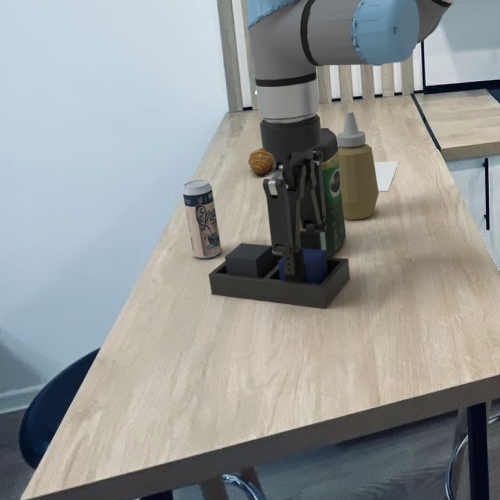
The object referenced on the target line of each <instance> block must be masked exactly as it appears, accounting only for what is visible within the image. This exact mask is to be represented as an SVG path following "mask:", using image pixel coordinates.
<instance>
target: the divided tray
mask: <svg viewBox="0 0 500 500" xmlns="http://www.w3.org/2000/svg"><path fill="white" fill-rule="evenodd" d="M272 252H273V251H272ZM281 258H283V255H282V253H278V252H273V260H274V269H272V270H271V271H270V272H269V273H268V274H267V275H266V276H265V277H264V278H257V277H248V276H239V275H230V274H227V269H226V262H225V260H224V261H222V263H221V264H219V265H218V266H217V267H216V268H214V269H213V270H212V271H211V272H209V274H208V281H209V286H210V292H211V293H210V294H211V295H216V296H223V297H232V298H238V299H246V300H255V301H262V302H270V303H278V304H286V305H291V306H292V305H293V306H300V307H307V308H308V307H309V308H317V309H323V310H324V309H325V310H326V309H327V308H328V307H329V305H330V304H331V303H332V301H334V299H335V298H336V297H337V296H338V294H339V293H340V292H341V291H342V289H343V288H344V287H345V286H346V284H347V283H348V282H349V281H350V279H351V276H350V264H349V263H350V262H349V258H342V257H341V258H340V257H331V256H327V265H328V276H327V277H326V279H325V280H324V281H323V282H322V283H321V284H312V283H302V282H293V281H284V280H280V274H279V265H278V261H279V260H280V259H281Z"/></svg>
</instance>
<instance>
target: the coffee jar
mask: <svg viewBox="0 0 500 500" xmlns="http://www.w3.org/2000/svg"><path fill="white" fill-rule="evenodd" d="M321 136H322V141H321V144H320V145H319V146H318V147H316V148H314V149H312V150H313V151H321V152H322V153H323V161H322V173H323V185H324V196H325V208H326V220H325V221H321V223H322V224H327V229H326V231H319V232H320V239H321V250H326V253H327V257H331V256H332V255H334V254H336V253H337V252H338V251H339V249H341V248H342V246H343V245H344V243H345V241H346V238H347V231H346V230H347V229H346V222H345V219H344V213H343V205H342V195H341V186H340V175H339V151H338V146H339V145H338V141H337V135H336V133H334V132H333V131H331V129H330V128H328V127H321ZM287 192H290V193H294V191H287ZM301 231H306V229H303V228H302V223H301V219H300V232H301ZM299 248H301V241H300V239H299Z"/></svg>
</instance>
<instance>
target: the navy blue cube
mask: <svg viewBox="0 0 500 500" xmlns="http://www.w3.org/2000/svg"><path fill="white" fill-rule="evenodd" d="M299 249H303V253H304V263H305V274H306V283H312V284H321V283H322V282H323V281H324V280H325V279H326V277H327V276H328V265H327V257H328V256H327V253H326V250H318V249H307V248H299ZM278 265H279V274H280V280H284V281H285V273H284V264H283V258H281V259H280V260H279V261H278Z"/></svg>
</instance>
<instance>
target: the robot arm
mask: <svg viewBox="0 0 500 500" xmlns="http://www.w3.org/2000/svg"><path fill="white" fill-rule="evenodd" d="M455 1H456V0H246V9H247V27H246V28H247V31H248V35H249V41H250V49H251V55H252V65H253V70H254V82H255V83H254V84H255V89H256V90H255V92H254V96H255V97H256V99H257V108H258V116H259V117H260V118H262V120H261V121H260V123H259V130H260V138H261V148H263V149H264V150H265V151H267V152H270V153H271V154H272V155H273V156H274V163H273V168H272V173H273V174H272V177H271V178H264V179H263V180H262V188H263V191H264V193H265V198H266V207H267V213H268V214H267V215H268V224H269V234H270V243H271V244H270V245H271V246H272V252H275V253H282V255H283V264H284V273H285V281H293V282H302V283H306V274H305V263H304V253H303V249H299V239H300V241H301V248H307V249H318V250H321V239H320V232H319V231H326V229H327V224H322V223H321V221H325V220H326V208H325V196H324V185H323V173H322V161H323V153H322V152H321V151H313V150H312V149H314V148H316V147H318V146H319V145H320V144H321V141H322V136H321V128H322V126H321V125H322V124H321V117H320V116H319V115H318V113H317V112H319V110H320V109H321V108H320V94H319V85H318V75H317V67H324V66H356V65H357V66H365V65H366V66H367V65H368V66H369V65H371V66H373V67H381V66H383V65H386V64H396V63H397V64H398V63H403V62H406V61H407V60H409V58H410V57H412V55H413V53H414V50H415V48H416V47H417V45H418V44H420V43H422V42H423V41H425V40H426V39H427V38H428V37H429V36H431V35H432V34H433V33H434V32H435V31H436V30H437V29H438V27H439V26H440V23H441V21H442V18H443V16H444V15H445V13H446V12H447V11H448V9H450V7H451V6H452V5H453V4H454V3H455ZM287 191H294V193H290V192H287ZM300 219H301V223H302V228H303V229H306V231H301V232H300Z"/></svg>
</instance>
